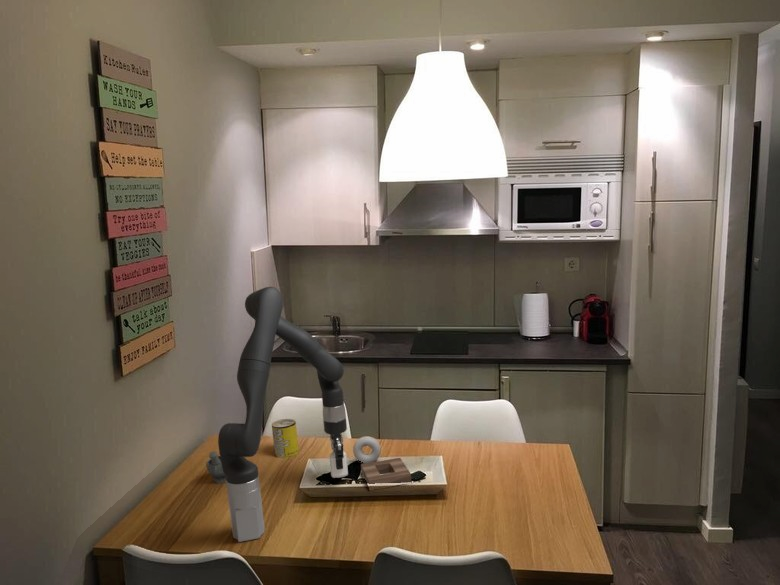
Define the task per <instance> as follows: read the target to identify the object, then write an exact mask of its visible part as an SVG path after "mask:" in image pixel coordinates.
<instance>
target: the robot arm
mask: <svg viewBox="0 0 780 585" xmlns="http://www.w3.org/2000/svg"><path fill="white" fill-rule="evenodd" d="M244 308H245V312H246V313H247V314H248V315H249V316H250V317H251V318H252V319H253V320H255V323H254V327H253V329H252V332H251V334H250V336H249V338H248V340H247V341H246V344H245V346H244V347H243V349H242V352H241V354H240V357H239V362H238V366H237V368H238V369H237V372H236V379H237V385H238V386H239V387H238V388H239V389H240V392H241V394H242V397H243V399H244V403H245V406H246V414H245V422H244V423H238V422H236V423H232V422H230V423H225V424H224V425H222V426H221V428H220V429H219V433H218V439H217V444H218V451H219V456H220V458H221V463H222V469H223V472H224V474H225V477H226V482H225V483H226V492H227V499H228V500H227V501H228V508H229V515H230V523H231V524H230V525H231V531H232V532H231V533H232V537H233V539H235V540H236V541H237V542H238V543H241V542H246V541H251V540H255V539H261V536H262V535H264V533H265V531H266V529H265V520H264V514H263V513H264V511H263V503H262V502H263V501H262V496H261V494H262V493H261V485H260V484H261V483H260V476H259V469H258V466H257V464H255V463H254V462H252V461H250V460H248V459H247V458H252V457H254V456H255V455H256V454H257V453H258V451H259V449H260V448H259V447H260V444H261V438H262V428H263V417H264V415H263V414H264V405H265V397H266V391H267V386H268V382H269V375H270V370H271V363H272V356H273V351H274V347H275V340H276V336H277V337H278V338H280V339H281V340H282V341H284V342H285V343H286V344H287V345H289V346H290V347H291V348H292V349H293V350H294V351H295V352H296V353H297V354H298V355H299V356H300V357H301V358H302V359H303V360H304V361H306V362H307V363H309V364H310V365H312V367H314V369H316V374H317V379H318V382H319V387H320V390H321V400H322V422H323V430H324V431H323V432H324V433H325V434H327V435H329V441H330V446H331V450H332V452H335V459H336V468H337V470H339V469H343V460H342V458H344V456H343V451H344V437H343V435H342V434H343V433H345V432H346V431H347V429H348V427H347V415H346V407H345V401H344V391H343V388H342V387H341V385H340V383H339V381H340V380H341V379H342V377H343V376H344V374H345V372H344V369H345V368H344V367H343V366H344V365H342V363H341V362H340V361H339V360H338V359H337V358H336V357H335V356H334V355H333V354H331V353H330V352H329V351H328V350H326V349H325V348H324V347H323V345H321V344H320V342H319V341H318V340H317V339H315V337H313V335H311V334H310V333H309V332H308V331H306V329H305V330H304V329H303V328H301V327H299V326H297V325H296V324H294V323H292V322H290V321H289V320H287V319H286V318H284V317H283V316H282V312H283V308H284V298H283V295H282V293H281V291H280V290H279V289H278V288H277V287H275V286H265V287H262V288H260V289H258V290H256V291H254V292H252V293H250V294H248V295H247V296H246V298H245V301H244ZM338 454H341V455H338Z"/></svg>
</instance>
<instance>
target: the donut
mask: <svg viewBox="0 0 780 585" xmlns="http://www.w3.org/2000/svg"><path fill="white" fill-rule="evenodd" d="M364 447H370V449H371V451H370V453H365V452H364V451H363V449H364ZM352 451H353V452H352V453H353V456H354V458H355V459H356V460H357V461H358V460H359V461H361V462H360V463H362V462H363V463H362V464H366V463H372V462H377V460H378V459H379V458H380V456H381V453H382V448H381V443H380V442H379V440H377V438H374V437H372V436H361V437H359V438H358V439H357V440H356V441H355V442H354V445H353V449H352ZM359 461H358V462H359Z"/></svg>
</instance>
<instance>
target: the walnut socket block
mask: <svg viewBox="0 0 780 585" xmlns="http://www.w3.org/2000/svg"><path fill="white" fill-rule="evenodd" d="M360 471H361V472H360V473H361V476H362V477H363V480H364V479H365V480H366V481H367V482H368V483H369V484H375V483H401V482H411V483H412V474H411V472H410V470H409V469H408V467H407V466H406V464H405V462H404V461H403V460H402V458H401V457H396V458H390V459H385V460H378V461H375V462H372V463H366V464H365V463H361V464H360ZM365 480H364V481H365Z"/></svg>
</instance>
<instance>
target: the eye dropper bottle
mask: <svg viewBox="0 0 780 585" xmlns="http://www.w3.org/2000/svg"><path fill="white" fill-rule="evenodd" d="M338 455H341V454H338ZM343 456H344V458H342V460H343V469H339V470H337V468H336V459H335V452H333V451H332V452H331V453H329V467H330V476H331V477H332V478H333V479H335V478H338V479H339V478H344V477H346V476H348V475H349V470H348V456H347V453H346V452H345V450H343Z"/></svg>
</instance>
